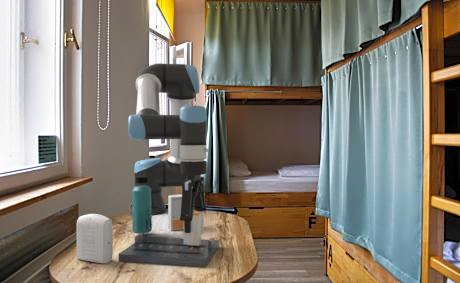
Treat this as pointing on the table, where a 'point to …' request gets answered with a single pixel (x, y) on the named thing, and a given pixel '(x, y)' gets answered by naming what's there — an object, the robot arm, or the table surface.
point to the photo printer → (94, 238)
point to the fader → (197, 228)
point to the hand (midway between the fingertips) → (194, 238)
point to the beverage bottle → (141, 207)
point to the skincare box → (174, 212)
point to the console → (169, 251)
